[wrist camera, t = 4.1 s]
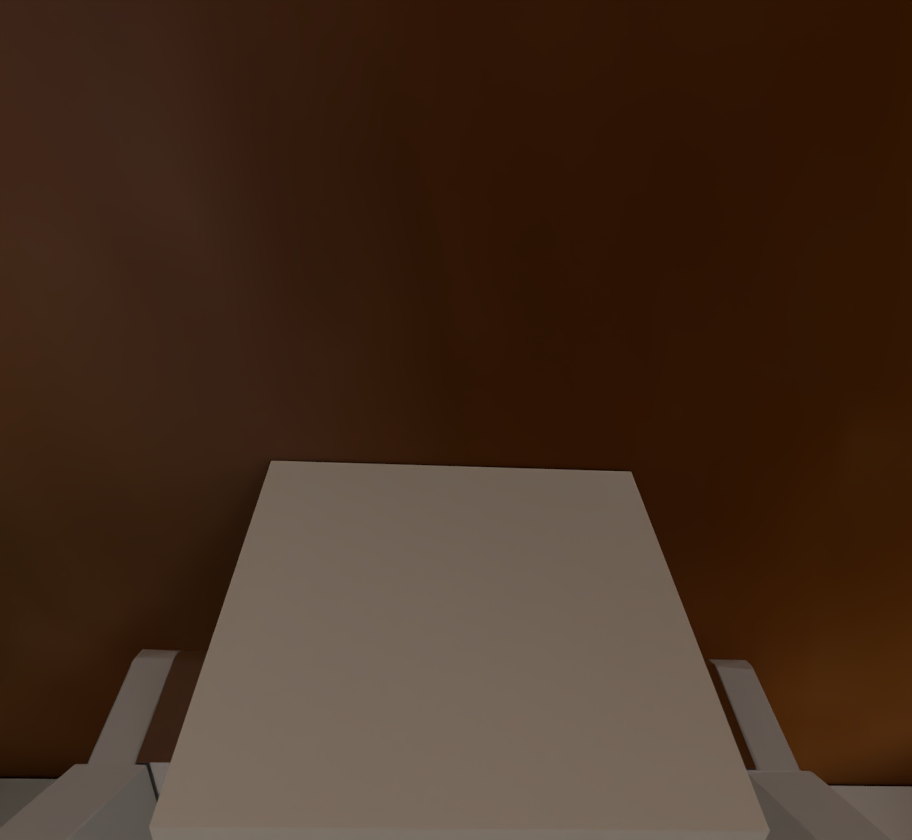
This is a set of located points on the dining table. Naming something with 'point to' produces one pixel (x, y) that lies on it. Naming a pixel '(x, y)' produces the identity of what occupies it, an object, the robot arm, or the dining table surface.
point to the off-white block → (453, 669)
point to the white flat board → (887, 807)
